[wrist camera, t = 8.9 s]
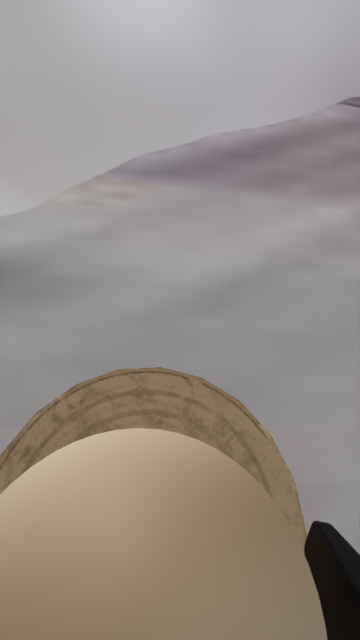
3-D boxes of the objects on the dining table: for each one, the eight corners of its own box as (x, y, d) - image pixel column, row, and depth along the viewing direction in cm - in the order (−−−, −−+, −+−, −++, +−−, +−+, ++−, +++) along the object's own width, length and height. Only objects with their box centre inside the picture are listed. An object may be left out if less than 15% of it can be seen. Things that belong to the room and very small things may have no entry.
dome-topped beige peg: (219, 560, 15) (419, 782, 4) (110, 624, 14) (-76, 1254, 2) (174, 449, 17) (217, 380, 6) (76, 496, 16) (-112, 521, 4)
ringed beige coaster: (335, 501, 19) (364, 502, 16) (152, 858, 13) (152, 953, 10) (140, 338, 23) (138, 318, 21) (-73, 542, 17) (-115, 550, 14)
